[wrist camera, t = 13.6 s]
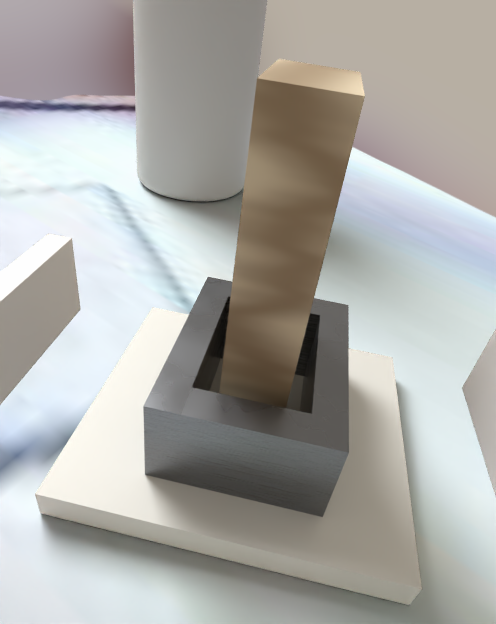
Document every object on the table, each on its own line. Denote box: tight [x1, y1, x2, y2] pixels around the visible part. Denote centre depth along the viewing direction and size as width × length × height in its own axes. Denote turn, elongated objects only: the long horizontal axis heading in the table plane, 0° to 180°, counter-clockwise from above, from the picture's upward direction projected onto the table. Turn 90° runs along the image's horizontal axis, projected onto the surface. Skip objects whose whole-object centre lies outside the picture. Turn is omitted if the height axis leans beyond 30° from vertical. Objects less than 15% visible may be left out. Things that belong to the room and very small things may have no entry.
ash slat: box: [219, 59, 365, 408], centre depth 19 cm, size 3×5×16 cm, turn 170°
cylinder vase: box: [133, 0, 267, 201], centre depth 46 cm, size 12×12×25 cm
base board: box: [35, 307, 422, 605], centre depth 24 cm, size 16×14×2 cm
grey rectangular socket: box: [143, 277, 349, 517], centre depth 22 cm, size 8×10×4 cm
